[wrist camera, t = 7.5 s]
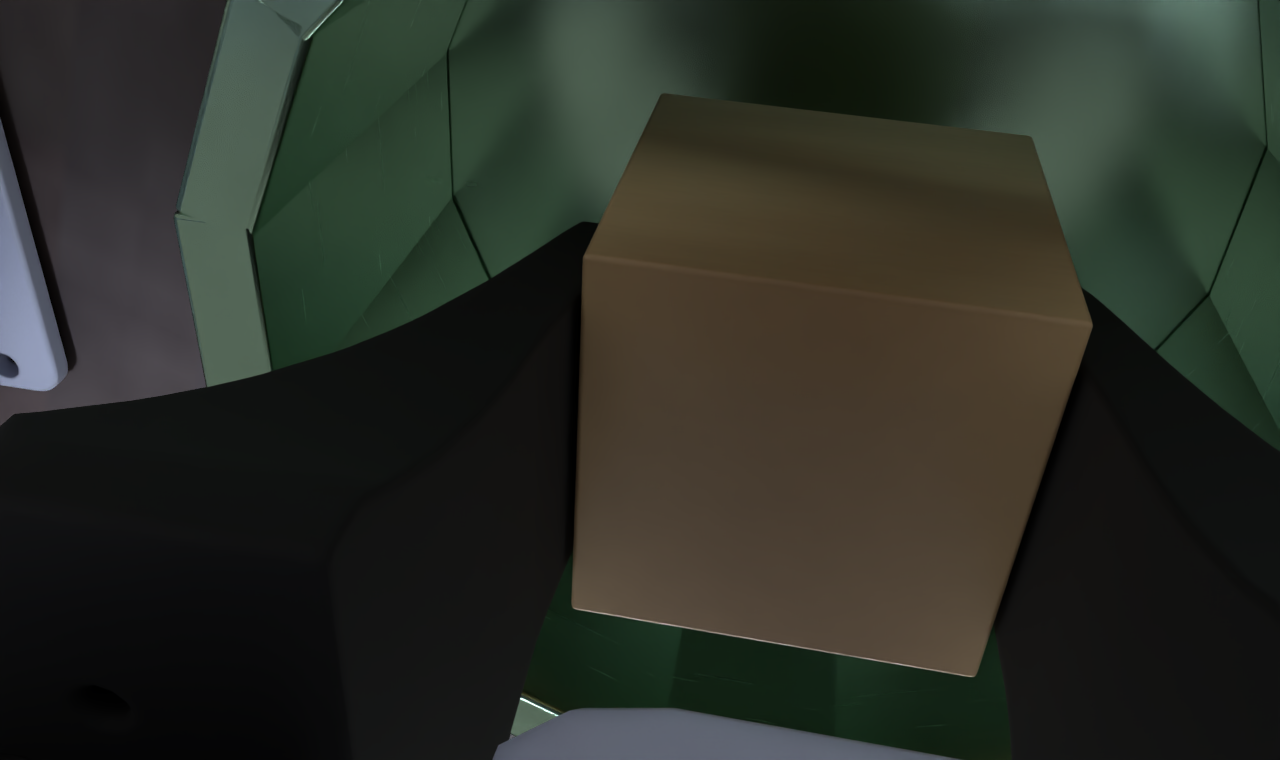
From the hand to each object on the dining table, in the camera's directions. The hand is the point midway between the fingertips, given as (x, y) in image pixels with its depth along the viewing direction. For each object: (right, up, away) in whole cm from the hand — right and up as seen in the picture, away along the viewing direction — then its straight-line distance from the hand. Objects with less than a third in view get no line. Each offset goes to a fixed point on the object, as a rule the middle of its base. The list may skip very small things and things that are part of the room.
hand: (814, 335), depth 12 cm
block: (0, +1, +1) cm, 1 cm away
